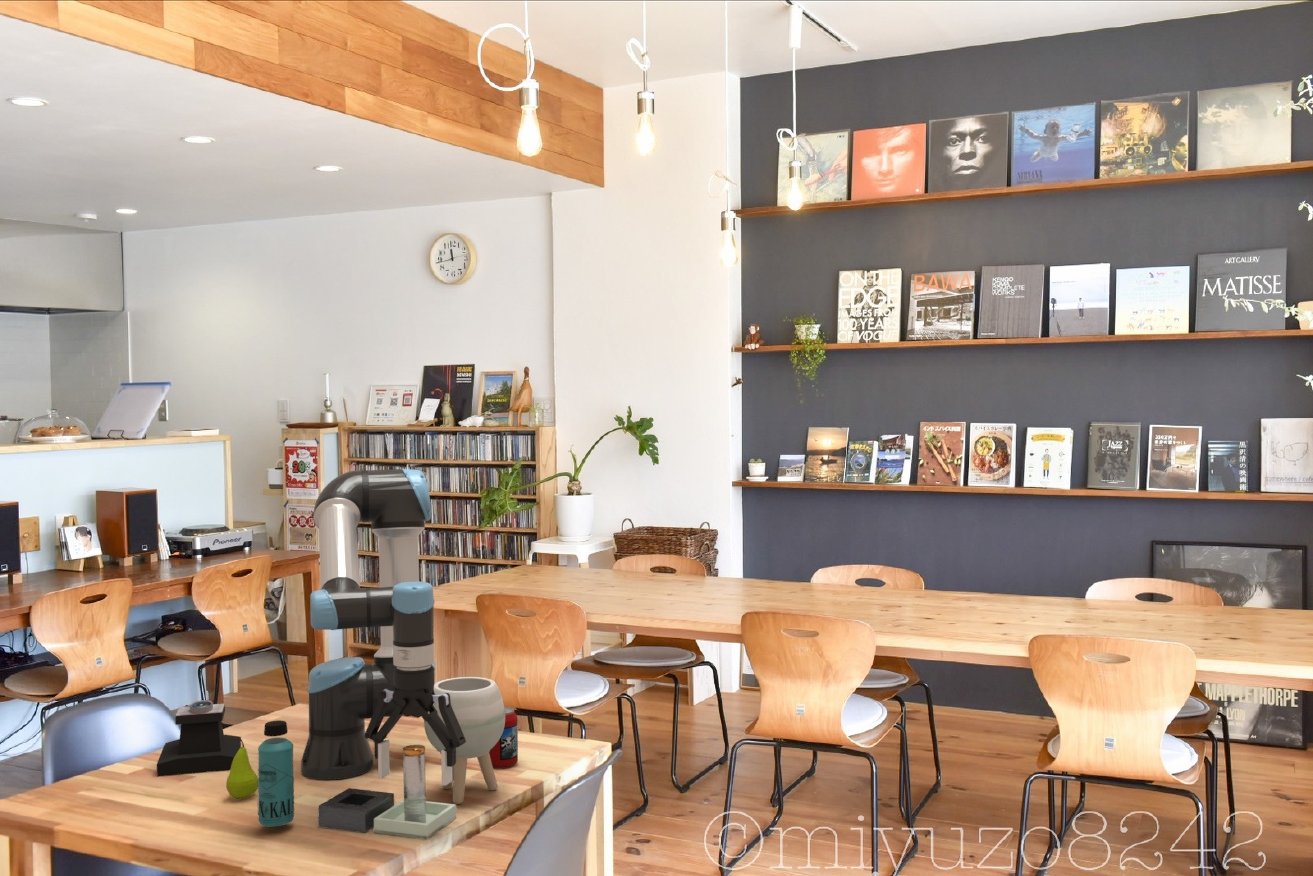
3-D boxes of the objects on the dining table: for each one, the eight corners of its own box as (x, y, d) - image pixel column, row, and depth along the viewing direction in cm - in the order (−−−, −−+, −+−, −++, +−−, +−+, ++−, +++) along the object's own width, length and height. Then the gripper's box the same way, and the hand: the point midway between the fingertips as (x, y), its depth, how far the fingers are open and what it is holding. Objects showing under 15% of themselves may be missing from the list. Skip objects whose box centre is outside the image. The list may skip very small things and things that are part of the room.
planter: (519, 785, 230) (518, 677, 230) (482, 812, 215) (481, 697, 215) (450, 777, 236) (449, 672, 235) (409, 803, 220) (408, 690, 220)
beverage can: (512, 770, 240) (511, 715, 239) (482, 768, 241) (481, 713, 241) (522, 760, 246) (521, 706, 246) (493, 759, 248) (492, 705, 247)
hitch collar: (318, 827, 208) (318, 805, 208) (349, 808, 218) (348, 788, 217) (365, 833, 205) (365, 811, 205) (394, 814, 215) (393, 793, 214)
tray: (374, 832, 205) (373, 818, 205) (405, 812, 216) (404, 798, 215) (427, 839, 202) (426, 825, 202) (456, 818, 212) (456, 804, 212)
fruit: (245, 804, 220) (244, 744, 220) (219, 801, 222) (218, 742, 222) (265, 794, 226) (264, 735, 226) (239, 791, 228) (238, 732, 228)
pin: (411, 817, 211) (409, 744, 211) (430, 819, 210) (428, 745, 209) (400, 824, 207) (398, 750, 207) (419, 827, 206) (417, 752, 206)
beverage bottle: (263, 822, 210) (261, 717, 210) (299, 821, 211) (297, 716, 210) (253, 836, 204) (251, 727, 203) (290, 834, 204) (289, 726, 204)
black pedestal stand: (154, 716, 236) (165, 692, 250) (157, 781, 237) (167, 754, 252) (234, 710, 240) (240, 687, 254) (236, 774, 242) (242, 747, 256)
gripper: (344, 666, 208) (346, 779, 209) (464, 675, 200) (465, 793, 201) (367, 657, 215) (368, 767, 216) (482, 666, 208) (484, 779, 208)
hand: (415, 779), depth 208 cm, fingers open, 13 cm apart
